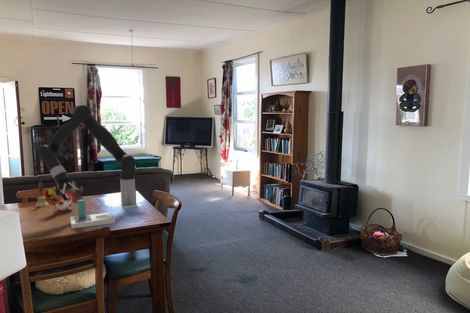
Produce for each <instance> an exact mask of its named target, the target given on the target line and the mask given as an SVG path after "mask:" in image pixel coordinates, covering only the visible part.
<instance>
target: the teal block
mask: <svg viewBox="0 0 470 313" xmlns="http://www.w3.org/2000/svg"><path fill="white" fill-rule="evenodd" d="M76 201H77V202H76V203H77V212H78V214H77V216H78V217H79V219H86V215H87V206H86V205H87V204H86V199H78V200H76Z"/></svg>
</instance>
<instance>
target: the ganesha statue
mask: <svg viewBox="0 0 470 313" xmlns="http://www.w3.org/2000/svg"><path fill="white" fill-rule="evenodd" d="M64 194H65V195H66V197H67V198H68V200H67V201H65V200H63V198H62V196H60V195H59V196H57V195H56V193H55V191H54V189H53V188H52V189H49V188H47V189H45V191H43V197H45V199H47V200H50V202H51V205H52V206H53V207H54V206H55V207H54V209H55V210H56V209H57V210H56V212H59V211H60V212H64V211H67V210H69V209H71V208H72V206H73V204H74V202H75V200H74V199H75V195H73V193H72V192H71V193H69V192H66V191H64Z"/></svg>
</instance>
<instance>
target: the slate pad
mask: <svg viewBox="0 0 470 313" xmlns="http://www.w3.org/2000/svg"><path fill="white" fill-rule="evenodd" d="M86 215H87V214H86ZM90 215H91V214H88V215H87V216H86V219H79V217H76V216H73V217H74V219H75V222H83V221H91V217H90Z"/></svg>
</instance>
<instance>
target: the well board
mask: <svg viewBox="0 0 470 313" xmlns="http://www.w3.org/2000/svg"><path fill="white" fill-rule="evenodd" d="M89 215H90V217H91V221H83V222H75V219H74V217H78V215H77V216H70V217H69V220H70V226H71V229H79V228H87V227H94V226H95V227H96V226H102V225H111V224H115V223H116V217H115V216H114V214H113V213H112V212H111V211H110V212H103V213H95V214H93V213H92V214H89ZM86 216H87V214H86Z"/></svg>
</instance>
